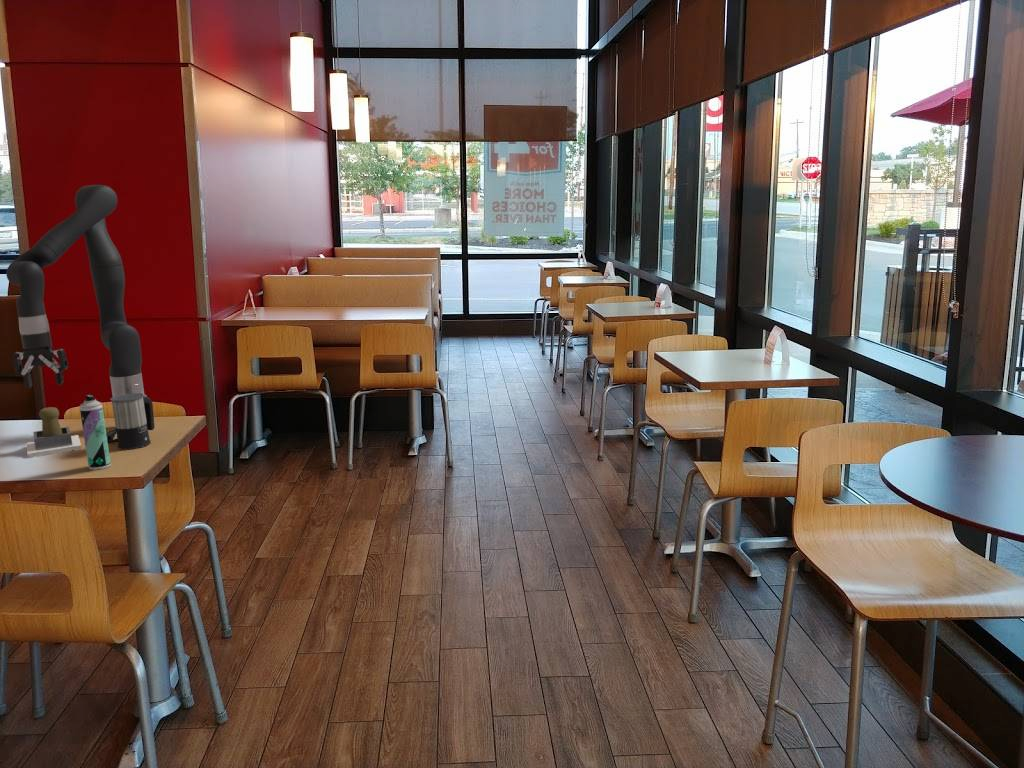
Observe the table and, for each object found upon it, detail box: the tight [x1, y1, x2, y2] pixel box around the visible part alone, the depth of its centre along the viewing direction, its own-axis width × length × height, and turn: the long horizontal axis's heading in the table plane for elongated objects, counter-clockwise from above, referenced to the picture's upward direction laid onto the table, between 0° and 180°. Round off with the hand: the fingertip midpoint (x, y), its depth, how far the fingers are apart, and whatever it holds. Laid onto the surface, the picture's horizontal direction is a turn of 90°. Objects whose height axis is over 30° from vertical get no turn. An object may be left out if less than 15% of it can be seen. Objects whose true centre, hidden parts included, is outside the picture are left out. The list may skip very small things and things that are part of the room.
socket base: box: [26, 434, 83, 458], centre depth 268 cm, size 14×14×1 cm
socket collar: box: [32, 426, 72, 451], centre depth 267 cm, size 10×10×4 cm
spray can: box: [79, 394, 112, 471], centre depth 244 cm, size 6×6×20 cm
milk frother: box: [106, 393, 155, 450], centre depth 268 cm, size 14×16×15 cm
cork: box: [38, 406, 63, 437], centre depth 266 cm, size 6×6×11 cm
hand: (44, 386), depth 264 cm, fingers open, 8 cm apart
